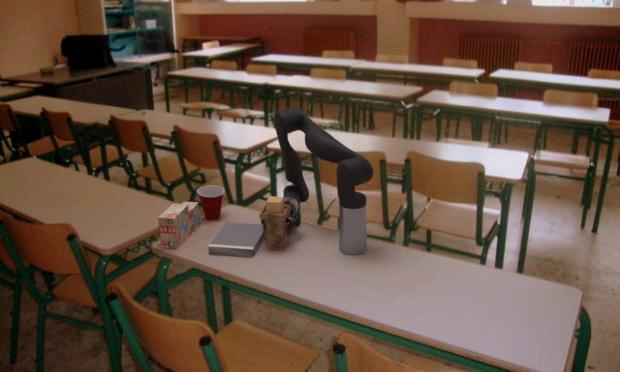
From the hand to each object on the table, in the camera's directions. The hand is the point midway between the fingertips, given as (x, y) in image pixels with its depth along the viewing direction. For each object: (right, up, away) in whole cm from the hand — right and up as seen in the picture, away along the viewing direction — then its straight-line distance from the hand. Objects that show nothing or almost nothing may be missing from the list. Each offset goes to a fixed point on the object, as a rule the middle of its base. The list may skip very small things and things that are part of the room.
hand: (276, 228), depth 197 cm
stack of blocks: (-36, -4, +11) cm, 38 cm away
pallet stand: (0, -6, +2) cm, 7 cm away
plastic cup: (-27, +2, +25) cm, 37 cm away
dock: (-14, -6, +4) cm, 15 cm away
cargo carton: (0, +6, -3) cm, 6 cm away
